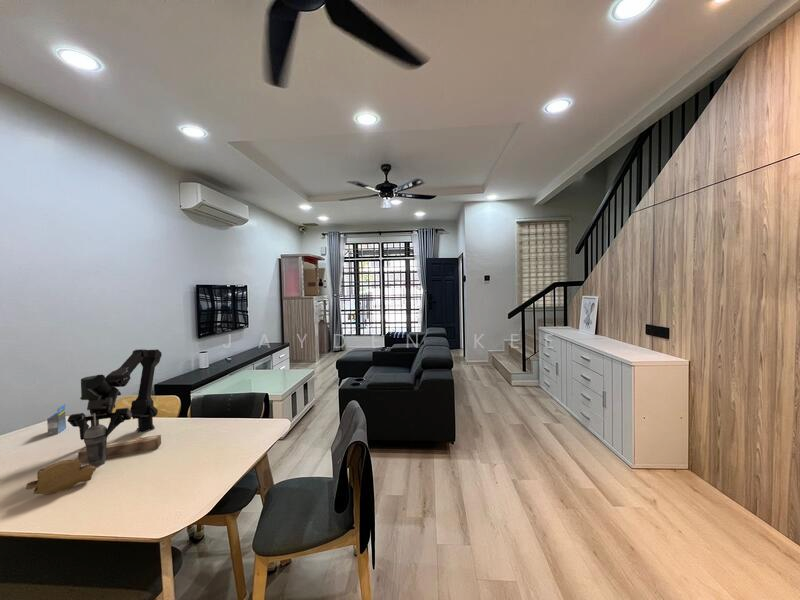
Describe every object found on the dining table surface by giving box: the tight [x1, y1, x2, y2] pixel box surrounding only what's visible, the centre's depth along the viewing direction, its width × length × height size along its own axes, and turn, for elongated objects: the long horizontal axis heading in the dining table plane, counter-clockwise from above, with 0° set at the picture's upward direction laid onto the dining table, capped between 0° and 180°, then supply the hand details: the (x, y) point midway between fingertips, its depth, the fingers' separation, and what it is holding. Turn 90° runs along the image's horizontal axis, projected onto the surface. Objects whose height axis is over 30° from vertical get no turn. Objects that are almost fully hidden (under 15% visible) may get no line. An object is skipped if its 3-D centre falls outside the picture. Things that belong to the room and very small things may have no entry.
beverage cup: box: [83, 413, 109, 468], centre depth 126 cm, size 7×7×20 cm
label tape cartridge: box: [46, 403, 67, 436], centre depth 160 cm, size 9×4×12 cm, turn 28°
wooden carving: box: [25, 458, 97, 495], centre depth 110 cm, size 16×5×10 cm, turn 141°
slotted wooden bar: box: [77, 434, 162, 463], centre depth 136 cm, size 26×5×4 cm, turn 114°
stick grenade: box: [79, 374, 100, 427], centre depth 145 cm, size 8×9×30 cm
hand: (94, 437), depth 125 cm, fingers closed on beverage cup, 7 cm apart
